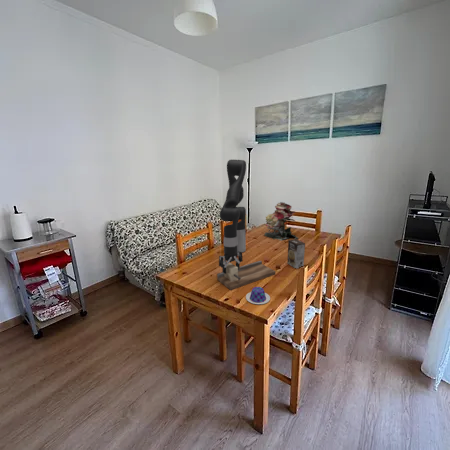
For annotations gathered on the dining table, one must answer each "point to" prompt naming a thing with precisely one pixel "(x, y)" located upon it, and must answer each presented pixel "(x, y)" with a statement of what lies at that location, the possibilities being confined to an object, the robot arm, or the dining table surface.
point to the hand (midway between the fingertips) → (231, 271)
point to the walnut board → (247, 275)
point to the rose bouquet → (279, 222)
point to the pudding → (257, 296)
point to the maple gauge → (232, 272)
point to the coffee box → (296, 253)
